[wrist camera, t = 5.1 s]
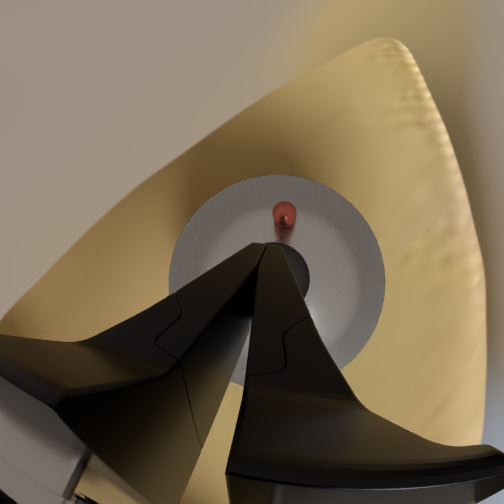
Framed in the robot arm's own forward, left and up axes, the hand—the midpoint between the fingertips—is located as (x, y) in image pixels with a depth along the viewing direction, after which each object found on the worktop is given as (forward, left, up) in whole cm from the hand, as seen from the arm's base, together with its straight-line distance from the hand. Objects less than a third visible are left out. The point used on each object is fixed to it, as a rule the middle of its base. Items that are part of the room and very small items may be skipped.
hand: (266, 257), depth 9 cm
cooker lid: (0, 0, -5) cm, 6 cm away
